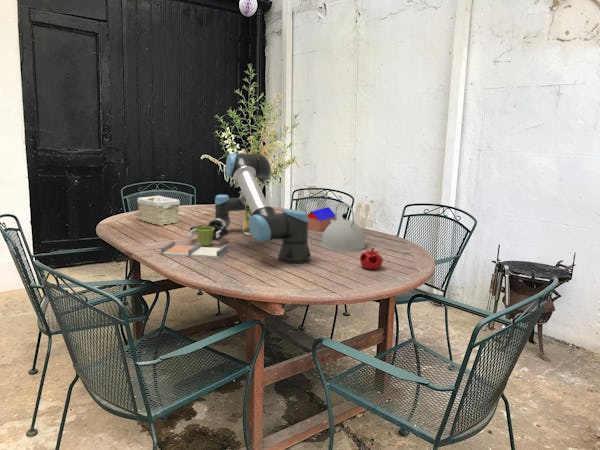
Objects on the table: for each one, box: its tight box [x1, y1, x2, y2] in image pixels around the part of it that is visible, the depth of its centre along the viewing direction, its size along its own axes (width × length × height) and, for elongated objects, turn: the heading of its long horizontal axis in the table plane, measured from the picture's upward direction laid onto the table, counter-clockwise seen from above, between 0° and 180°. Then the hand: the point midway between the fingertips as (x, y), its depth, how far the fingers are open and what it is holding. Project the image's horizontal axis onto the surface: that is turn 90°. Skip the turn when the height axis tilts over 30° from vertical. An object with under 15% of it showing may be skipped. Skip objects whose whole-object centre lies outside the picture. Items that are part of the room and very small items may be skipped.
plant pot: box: [196, 225, 215, 247], centre depth 245 cm, size 9×9×9 cm
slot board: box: [160, 240, 229, 259], centre depth 231 cm, size 28×14×3 cm, turn 82°
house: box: [307, 206, 336, 232], centre depth 294 cm, size 12×20×12 cm, turn 147°
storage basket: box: [136, 195, 181, 226], centre depth 297 cm, size 24×16×15 cm
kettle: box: [321, 202, 366, 252], centre depth 252 cm, size 25×23×22 cm
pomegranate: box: [359, 247, 384, 270], centre depth 214 cm, size 10×10×9 cm
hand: (203, 234), depth 243 cm, fingers open, 13 cm apart
